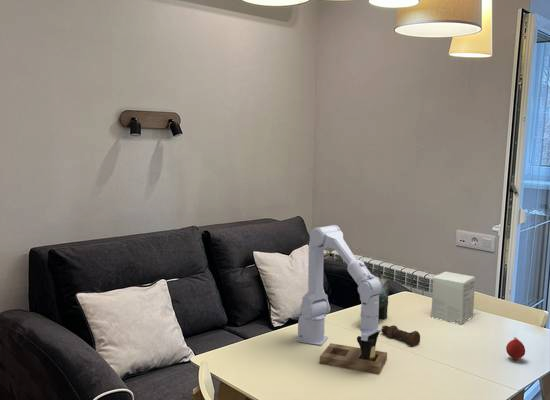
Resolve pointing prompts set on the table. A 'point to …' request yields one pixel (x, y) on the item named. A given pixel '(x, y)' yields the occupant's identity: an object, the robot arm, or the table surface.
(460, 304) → the supplement box
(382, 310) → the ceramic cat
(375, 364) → the frame
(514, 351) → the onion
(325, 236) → the robot arm
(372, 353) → the brass peg
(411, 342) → the bolt
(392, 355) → the table surface
